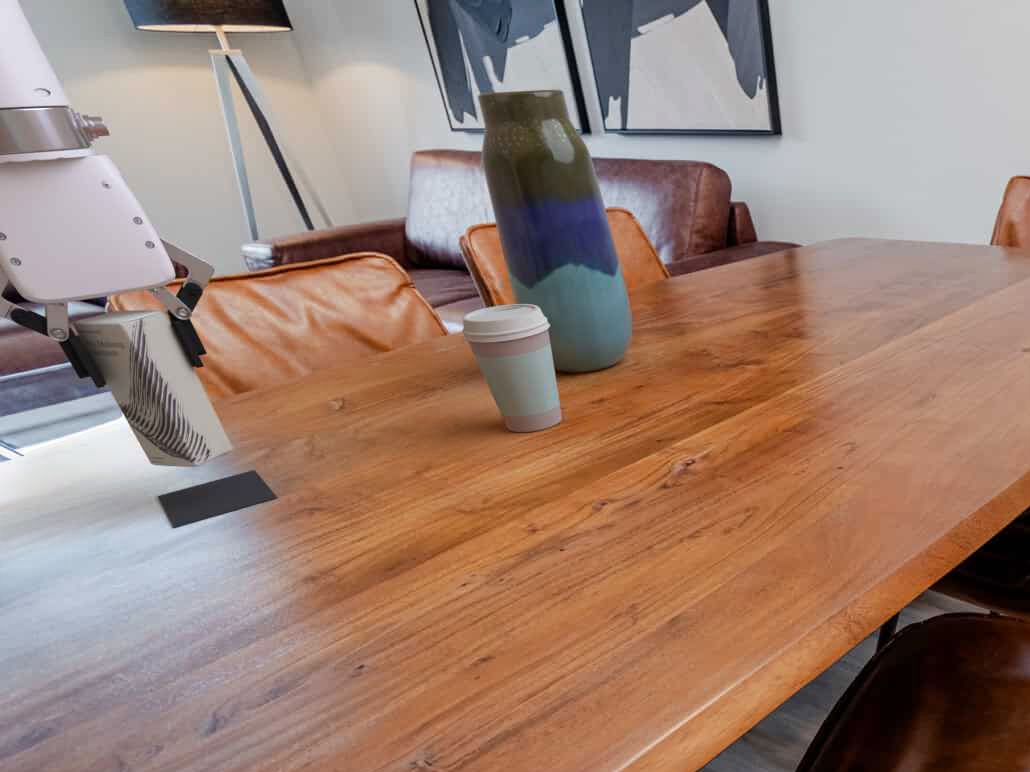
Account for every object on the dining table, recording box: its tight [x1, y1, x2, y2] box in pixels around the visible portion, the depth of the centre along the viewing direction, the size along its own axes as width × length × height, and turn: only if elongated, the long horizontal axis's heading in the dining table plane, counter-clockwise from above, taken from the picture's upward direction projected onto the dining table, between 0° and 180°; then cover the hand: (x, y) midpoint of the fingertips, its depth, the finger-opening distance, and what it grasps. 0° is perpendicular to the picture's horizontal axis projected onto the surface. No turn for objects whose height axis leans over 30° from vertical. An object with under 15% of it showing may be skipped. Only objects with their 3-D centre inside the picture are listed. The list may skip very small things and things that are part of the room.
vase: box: [477, 89, 634, 373], centre depth 102 cm, size 14×14×31 cm
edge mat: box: [157, 469, 278, 529], centre depth 78 cm, size 8×10×1 cm
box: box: [72, 309, 234, 468], centre depth 72 cm, size 5×4×13 cm
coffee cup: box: [461, 303, 563, 433], centre depth 88 cm, size 9×8×12 cm
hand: (149, 372), depth 71 cm, fingers closed on box, 6 cm apart
